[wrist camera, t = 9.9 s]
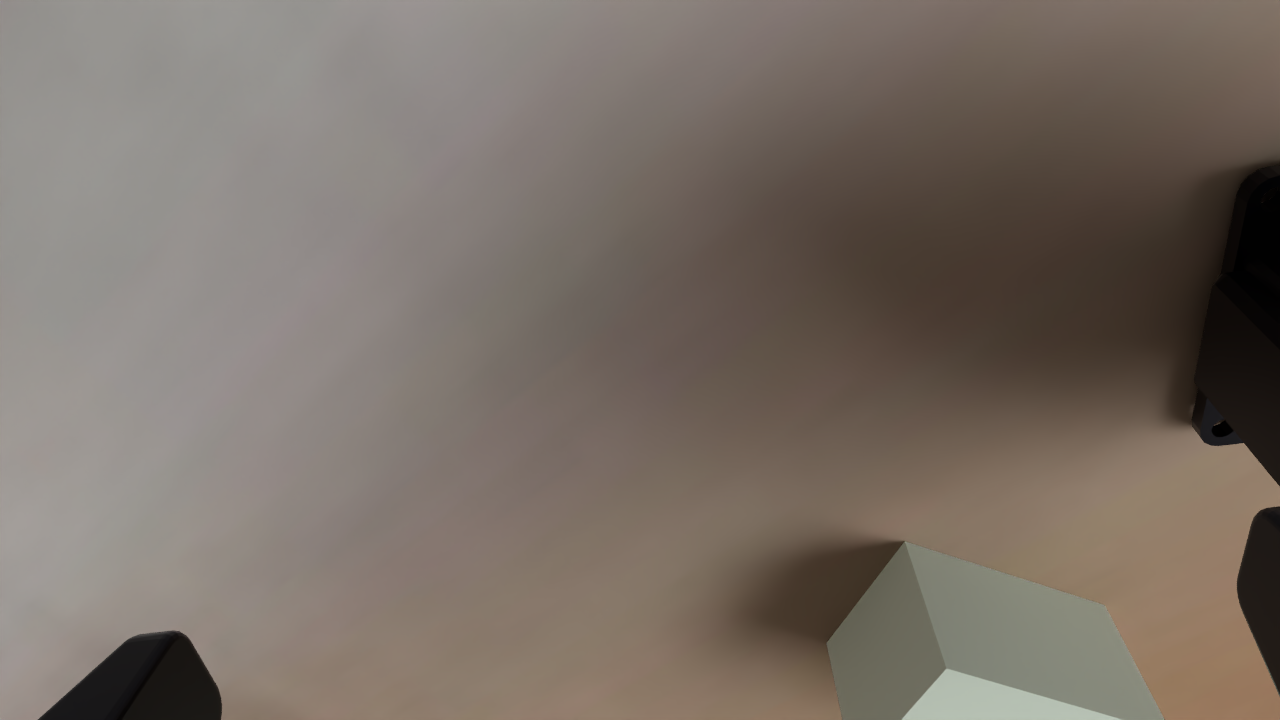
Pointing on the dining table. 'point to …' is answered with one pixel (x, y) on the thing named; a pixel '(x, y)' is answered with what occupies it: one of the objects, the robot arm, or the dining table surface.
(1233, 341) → the robot arm
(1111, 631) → the sage brick
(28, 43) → the dining table surface
